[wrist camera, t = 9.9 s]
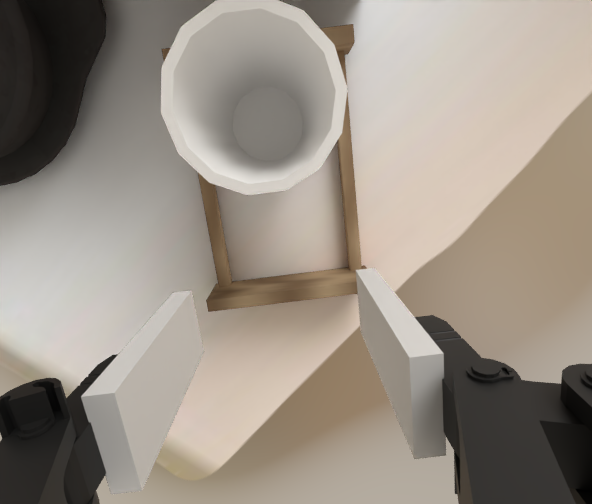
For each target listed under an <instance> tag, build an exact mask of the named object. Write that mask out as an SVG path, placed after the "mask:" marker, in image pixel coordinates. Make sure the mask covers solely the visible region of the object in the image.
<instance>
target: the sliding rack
mask: <svg viewBox="0 0 592 504" xmlns="http://www.w3.org/2000/svg"><path fill="white" fill-rule="evenodd" d="M320 29H321V30H322V31H323V32H324V34H325V35H326V36H327V37H328V38H329V39H330V40H331V41H332V43H333V44H334V45H335V48H336V52H337V55H338V58H339V62H340V65H341V68H342V72H343V75H344V78H345V82H346V85H347V81H346V69H345V56H344V55H346V54H348V53H349V51H350V50H351V48H352V46H353V44H354V29H353V24H350V25H342V26H334V27H327V28H320ZM169 50H170V48H166V49H162V53H163V58H164V61H165V59H166V57H167V55H168V53H169ZM337 144H338V155H339V166H340V177H341V189H342V200H343V211H344V222H345V233H346V244H347V255H348V266H349V267H348V268H340V269H332V270H324V271H316V272H308V273H300V274H292V275H283V276H275V277H267V278H259V279H251V280H243V281H235V282H232V278H231V273H230V267H229V261H228V256H227V250H226V244H225V239H224V233H223V227H222V222H221V216H220V210H219V204H218V199H217V193H216V187H215V184H212V183H209V182H208V181H207V180H206V179H205V178H204V177H203V176H202V175H200V174H199V173H198V176H199V182H200V187H201V193H202V198H203V203H204V209H205V214H206V219H207V225H208V230H209V236H210V241H211V246H212V252H213V257H214V263H215V268H216V273H217V279H218V284H216V285H215V287H214V288H213V290H212V292H211V293H210V295H209V297H208V299H207V300H206V302H207V307H208V312H210V311H218V310H227V309H235V308H243V307H251V306H259V305H268V304H276V303H284V302H292V301H300V300H309V299H317V298H325V297H333V296H341V295H350V294H358V291H357V280H356V270H361V269H367V268H366V267H365V266H361V254H360V242H359V229H358V217H357V205H356V192H355V180H354V168H353V155H352V143H351V130H350V118H349V106H348V93H347V98H346V106H345V114H344V122H343V130H342V134H341V135H340V137H339V139H338V140H337Z"/></svg>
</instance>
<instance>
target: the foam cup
mask: <svg viewBox="0 0 592 504" xmlns="http://www.w3.org/2000/svg"><path fill="white" fill-rule="evenodd" d="M347 90H348V88H347V85H346V82H345V78H344V75H343V72H342V68H341V65H340V62H339V58H338V55H337V52H336V48H335V45H334V44H333V43H332V41H331V40H330V39H329V38H328V37H327V36H326V35H325V34H324V32H323V31H322V30H321V29H320V28H319V27H318V26H317V25H316V23H315V22H314V21H313V20H312V19H311V18H310V17H309V16H308V14H307V13H306V12H305V11H304V10H302V9H299V8H297V7H294V6H292V5H289V4H287V3H284V2H281V1H279V0H216V1H214V2H213V3H212V4H210V5H209V6H208V7H206V8H205V9H204V10H202V11H201V12H200V13H198V14H197V15H196V16H194V17H193V18H192V19H190V20H189V21H188V22H186V23H185V24H184V25H182V26H181V28H180V30H179V32H178V34H177V36H176V38H175V40H174V42H173V44H172V46H171V48H170V50H169V53H168V55H167V57H166V59H165V61H164V63H163V65H162V67H161V114H162V117H163V119H164V121H165V124H166V126H167V128H168V131H169V133H170V135H171V138H172V140H173V142H174V145H175V147H176V149H177V152H178V154H179V155H180V156H181V157H182V158H183V159H184V160H186V161H187V162H188V163H189V164H190V165H191V166H192V167H193V168H194V169H195V170H196V171H197V172H198V173H199V174H200V175H202V176H203V177H204V178H205V179H206V180H207V181H208V182H209V183H212V184H215V185H218V186H221V187H224V188H227V189H230V190H233V191H236V192H239V193H242V194H245V195H255V194H263V193H271V192H279V191H287V190H288V189H290V188H291V187H293V186H294V185H296V184H297V183H299V182H300V181H302V180H304V179H305V178H307V177H308V176H310V175H311V174H313V173H314V172H316V171H317V170H319V169H320V168H321V166H322V165H323V163H324V162H325V160H326V158H327V157H328V155H329V153H330V152H331V150H332V148H333V147H334V145H335V144H336V142H337V140H338V139H339V137H340V135H341V134H342V130H343V122H344V114H345V106H346V98H347Z"/></svg>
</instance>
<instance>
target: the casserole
mask: <svg viewBox="0 0 592 504" xmlns="http://www.w3.org/2000/svg"><path fill="white" fill-rule="evenodd" d="M105 31H106V14H105V11H104V7H103V4H102V0H0V186H2V185H7V184H11V183H16V182H19V181H21V180H23V179H25V178H27V177H30V176H32V175H34V174H36V173H37V172H39V171H40V170H41V169H42V168H44V167H45V166H46V165H48V164H49V163H50V162H51V161H53V159H54V158H55V157H56V156H57V154H58V153H59V152H60V151H61V149H62V148H63V147H64V146H65V145H66V143H67V141H68V139H69V137H70V135H71V133H72V130H73V128H74V126H75V124H76V120H77V116H78V112H79V108H80V104H81V99H82V95H83V91H84V87H85V82H86V78H87V76H88V74H89V72H90V70H91V67H92V65H93V63H94V61H95V59H96V56H97V54H98V52H99V50H100V47H101V45H102V43H103V41H104V39H105Z"/></svg>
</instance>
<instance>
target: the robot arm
mask: <svg viewBox="0 0 592 504" xmlns="http://www.w3.org/2000/svg"><path fill="white" fill-rule="evenodd" d="M356 280H357V291H358V303H359V315H360V327H361V333H362V336H363V338H364V341H365V343H366V345H367V348H368V350H369V352H370V355H371V357H372V360H373V362H374V364H375V367H376V369H377V371H378V374H379V376H380V379H381V381H382V383H383V386H384V388H385V391H386V393H387V395H388V398H389V400H390V402H391V405H392V407H393V409H394V412H395V414H396V417H397V419H398V421H399V424H400V426H401V428H402V431H403V433H404V436H405V438H406V440H407V443H408V445H409V448H410V450H411V452H412V454H413V457H414V459H419V458H427V457H436V456H445V455H446V439H445V438H446V437H447V439H448V440H449V442H450V444H451V446H452V447H453V449H454V466H455V467H454V469H455V494H458V501H459V504H592V364H576V365H571V366H568V367H567V368H565V369H564V370H563V371H562V383H561V384H556V383H543V382H532V381H525V380H521V378H520V376H519V375H518V374H517V372H516V371H515V370H514V369H513V368H511V367H509V366H508V365H506V364H504V363H501V362H498V361H495V360H491V359H484V358H481V357H480V356H479V355H478V354H477V353H476V351H475V350H474V349H472V347H471V346H469V344H468V343H467V342H466V341H465V340H464V339H461V336H460V335H459V334H458V333H457V332H456V331H454V329H453V328H452V327H451V326H450V325H449V324H448V323H447V322H446V321H444V320H442V319H440V318H437V317H435V316H433V315H430V316H422V317H414V316H413V315H412V314H411V312H410V311H409V310H408V309H407V307H406V306H405V305H404V304H403V302H402V301H401V300H400V299H399V297H398V296H397V295H396V294H395V292H394V291H393V290H392V289H391V287H390V286H389V285H388V284H387V282H386V281H385V280H384V279H383V278H382V276H381V275H380V274H379V273H378V271H377V270H376V269H375V268H369V269H361V270H356ZM203 353H204V347H203V343H202V338H201V333H200V328H199V323H198V318H197V313H196V309H195V304H194V299H193V294H192V290H189V291H181V292H173V293H172V294H171V295H170V296H169V298H168V299H167V300H166V301H165V302H164V303H163V304H162V306H161V307H160V308H159V309H158V310H157V311H156V312H155V313H154V315H153V316H152V317H151V318H150V319H149V320H148V321H147V322H146V324H145V325H144V326H143V327H142V328H141V329H140V330H139V332H138V333H137V334H136V335H135V336H134V337H133V338H132V339H131V341H130V342H129V343H128V344H127V345H126V346H125V347H124V349H123V350H122V351H121V352H120V353H119V354H117V355H112V356H111V357H109V358H108V359H106V360H105V361H103V362H101V363H100V364H98V365H97V366H96V367H95V369H94V370H93V371H92V372H91V373H90V374H89V375H88V377H86V378H85V379H84V380H83V381H82V382H81V383H80V386H78V387H77V388H76V389H75V390H74V391H73V392H72V393H71V394H70V395H69V396H68V397H67V398H66V396H65V393H64V390H63V387H62V384H61V381H59V380H58V379H56V378H45V379H40V380H35V381H32V382H29V383H26V384H23V385H21V386H19V387H17V388H14V389H12V390H10V391H8V392H7V393H5V394H4V395H3V396H1V397H0V433H1V436H2V440H1V441H0V504H99V499H98V495H97V492H96V490H97V488H98V486H99V484H100V483H101V481H102V479H103V478H104V476H106V479H107V483H108V486H109V489H110V492H111V494H118V493H127V492H136V491H142V490H143V488H144V485H145V483H146V481H147V479H148V477H149V474H150V472H151V470H152V468H153V465H154V463H155V461H156V459H157V456H158V454H159V452H160V450H161V447H162V445H163V443H164V441H165V438H166V436H167V434H168V432H169V429H170V427H171V425H172V423H173V420H174V418H175V416H176V414H177V411H178V409H179V407H180V405H181V402H182V400H183V398H184V396H185V393H186V391H187V389H188V387H189V384H190V382H191V380H192V378H193V375H194V373H195V371H196V369H197V366H198V364H199V362H200V360H201V358H202V355H203ZM445 435H446V436H445Z"/></svg>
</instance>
